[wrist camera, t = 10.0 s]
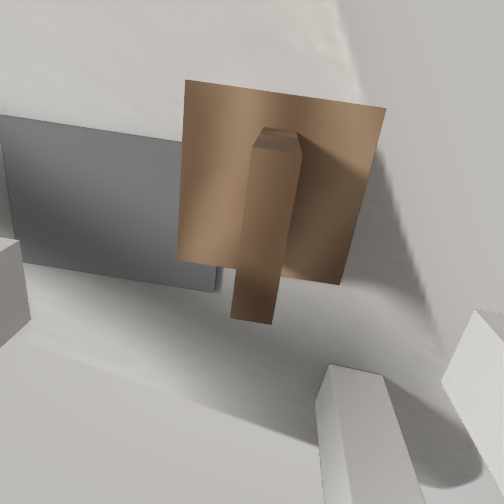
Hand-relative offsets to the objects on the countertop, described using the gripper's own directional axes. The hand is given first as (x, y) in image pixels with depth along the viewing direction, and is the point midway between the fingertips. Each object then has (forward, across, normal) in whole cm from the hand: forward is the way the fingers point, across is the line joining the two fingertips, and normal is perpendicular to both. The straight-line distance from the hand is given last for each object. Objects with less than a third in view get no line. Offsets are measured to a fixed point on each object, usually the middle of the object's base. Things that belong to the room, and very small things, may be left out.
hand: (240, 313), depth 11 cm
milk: (+23, +13, -23) cm, 35 cm away
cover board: (+16, +1, 0) cm, 16 cm away
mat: (+23, -13, -6) cm, 27 cm away
